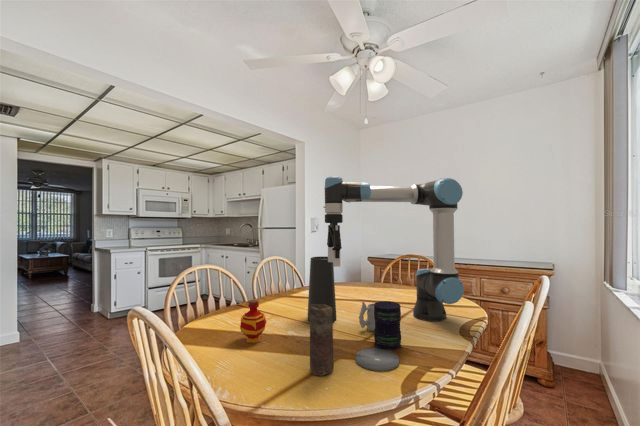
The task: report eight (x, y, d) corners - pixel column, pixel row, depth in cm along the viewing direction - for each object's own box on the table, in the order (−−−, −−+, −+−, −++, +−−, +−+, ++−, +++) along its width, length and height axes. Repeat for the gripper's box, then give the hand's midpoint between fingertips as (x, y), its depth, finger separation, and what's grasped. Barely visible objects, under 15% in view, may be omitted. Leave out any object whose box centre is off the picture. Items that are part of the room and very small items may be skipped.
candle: (309, 365, 98) (309, 302, 99) (331, 364, 99) (331, 301, 99) (310, 377, 90) (310, 309, 91) (335, 376, 91) (334, 308, 92)
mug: (388, 330, 130) (387, 301, 130) (364, 334, 125) (364, 304, 125) (377, 324, 137) (377, 297, 137) (354, 328, 132) (354, 300, 132)
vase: (302, 322, 140) (302, 258, 141) (314, 313, 153) (314, 255, 154) (330, 325, 135) (330, 260, 136) (340, 316, 148) (340, 256, 149)
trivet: (389, 350, 109) (389, 347, 109) (406, 369, 95) (406, 365, 95) (351, 353, 107) (351, 349, 107) (362, 372, 93) (362, 368, 93)
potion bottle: (271, 336, 122) (271, 299, 123) (258, 346, 113) (258, 305, 113) (248, 333, 126) (248, 297, 126) (233, 343, 116) (233, 303, 116)
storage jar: (396, 352, 107) (395, 309, 108) (370, 346, 112) (369, 305, 113) (404, 343, 116) (404, 303, 116) (379, 338, 121) (379, 299, 121)
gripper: (320, 214, 141) (320, 260, 141) (329, 212, 117) (329, 268, 116) (336, 214, 142) (337, 260, 142) (349, 212, 118) (349, 268, 117)
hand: (333, 264), depth 129 cm, fingers open, 13 cm apart
